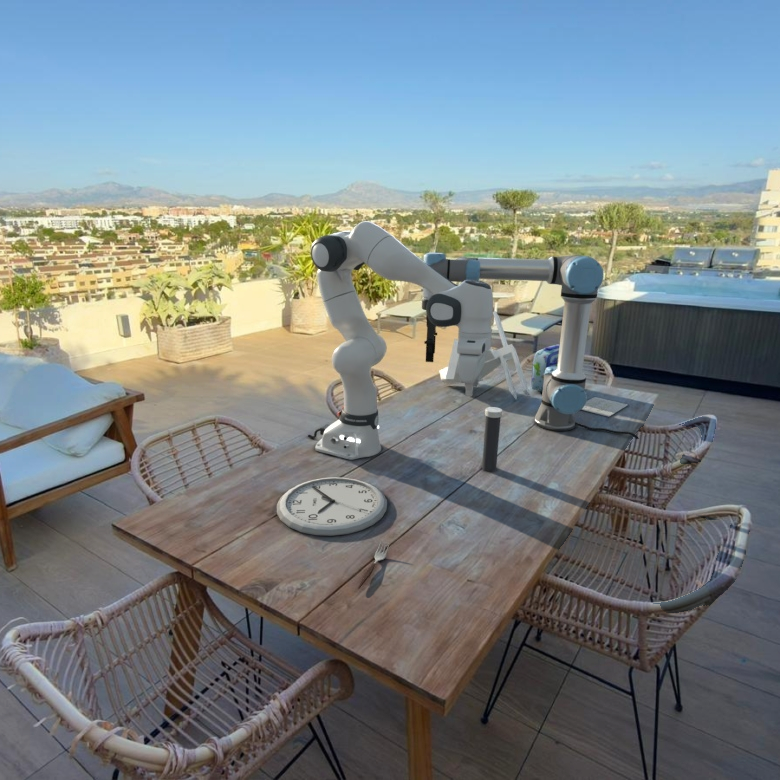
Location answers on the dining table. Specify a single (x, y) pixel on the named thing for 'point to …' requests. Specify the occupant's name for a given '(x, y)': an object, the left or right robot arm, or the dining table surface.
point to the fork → (378, 557)
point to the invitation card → (603, 406)
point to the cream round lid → (493, 412)
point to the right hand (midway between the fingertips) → (430, 357)
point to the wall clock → (331, 506)
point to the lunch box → (543, 365)
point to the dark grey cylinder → (491, 444)
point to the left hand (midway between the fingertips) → (472, 390)
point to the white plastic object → (488, 363)
